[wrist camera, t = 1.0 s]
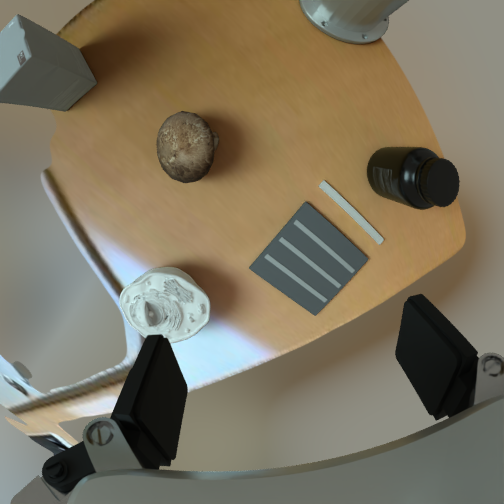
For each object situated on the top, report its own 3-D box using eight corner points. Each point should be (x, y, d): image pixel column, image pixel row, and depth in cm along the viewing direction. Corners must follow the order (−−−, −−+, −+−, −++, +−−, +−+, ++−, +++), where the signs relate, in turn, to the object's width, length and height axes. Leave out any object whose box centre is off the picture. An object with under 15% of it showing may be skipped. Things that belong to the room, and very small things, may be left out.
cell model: (220, 319, 39) (216, 349, 32) (143, 324, 39) (129, 351, 32) (208, 252, 35) (200, 274, 29) (124, 262, 35) (103, 283, 29)
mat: (305, 201, 33) (306, 202, 33) (367, 257, 36) (368, 259, 36) (249, 267, 36) (249, 269, 36) (314, 314, 39) (315, 316, 38)
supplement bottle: (399, 204, 34) (454, 227, 22) (358, 187, 33) (408, 205, 22) (413, 158, 32) (472, 166, 20) (373, 138, 31) (428, 136, 20)
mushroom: (243, 123, 27) (201, 129, 23) (225, 185, 32) (187, 201, 28) (192, 102, 29) (150, 106, 25) (180, 158, 35) (142, 170, 30)
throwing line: (323, 180, 33) (324, 180, 32) (383, 238, 35) (384, 239, 35) (318, 186, 33) (318, 186, 33) (378, 244, 36) (379, 245, 35)
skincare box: (49, 76, 25) (-25, 59, 10) (84, 44, 24) (16, 9, 9) (66, 115, 28) (-16, 109, 13) (104, 82, 27) (28, 52, 12)
